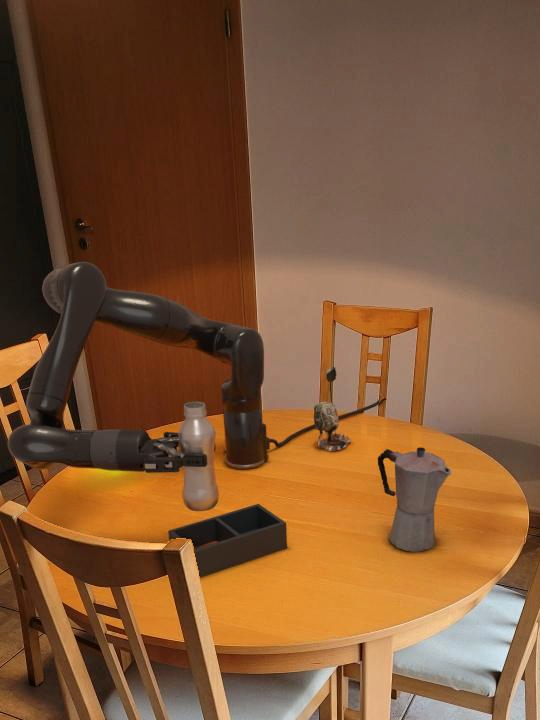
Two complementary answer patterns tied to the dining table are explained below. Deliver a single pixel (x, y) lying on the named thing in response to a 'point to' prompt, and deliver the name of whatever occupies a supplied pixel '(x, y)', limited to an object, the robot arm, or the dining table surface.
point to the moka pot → (414, 496)
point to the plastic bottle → (198, 440)
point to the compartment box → (233, 538)
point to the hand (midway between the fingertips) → (210, 453)
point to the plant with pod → (329, 420)
